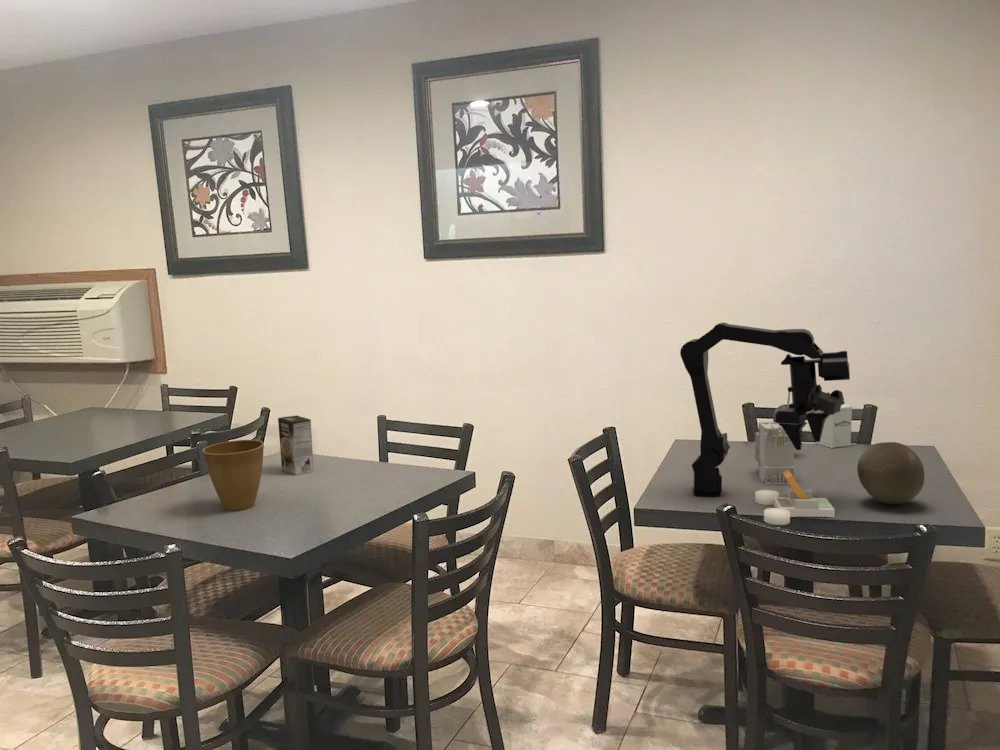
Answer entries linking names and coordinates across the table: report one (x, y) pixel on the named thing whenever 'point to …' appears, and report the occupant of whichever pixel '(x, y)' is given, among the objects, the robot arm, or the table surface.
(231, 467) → the plant pot
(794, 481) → the long orange brick
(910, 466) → the cantaloupe
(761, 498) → the cream dome knob
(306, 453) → the coffee box
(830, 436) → the supplement box
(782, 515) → the cream round disc
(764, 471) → the circuit breaker
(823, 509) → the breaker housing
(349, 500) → the table surface
